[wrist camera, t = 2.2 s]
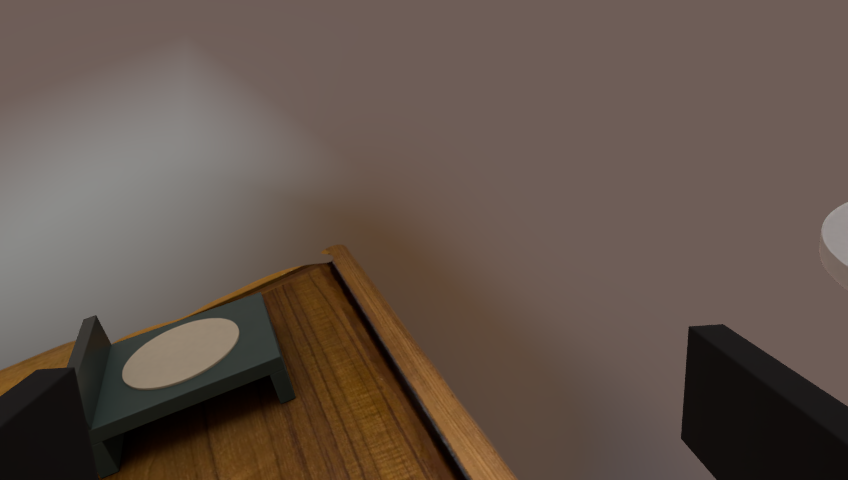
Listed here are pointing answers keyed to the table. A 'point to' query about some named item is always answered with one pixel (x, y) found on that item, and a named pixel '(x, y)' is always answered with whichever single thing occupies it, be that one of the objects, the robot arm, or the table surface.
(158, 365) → the coaster stand
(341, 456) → the table surface
